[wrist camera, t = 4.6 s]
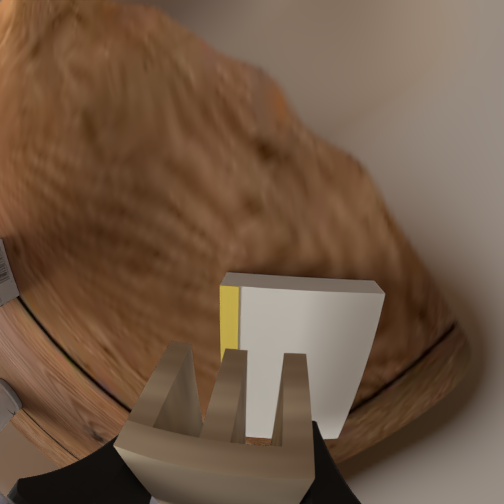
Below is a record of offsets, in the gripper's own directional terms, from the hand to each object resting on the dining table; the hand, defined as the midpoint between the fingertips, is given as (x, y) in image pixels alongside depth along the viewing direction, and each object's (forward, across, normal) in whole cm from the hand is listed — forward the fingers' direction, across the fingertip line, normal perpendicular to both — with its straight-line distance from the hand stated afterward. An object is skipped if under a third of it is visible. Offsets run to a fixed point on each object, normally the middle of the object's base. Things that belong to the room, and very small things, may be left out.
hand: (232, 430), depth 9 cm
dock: (+8, -3, +3) cm, 9 cm away
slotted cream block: (+2, 0, +3) cm, 3 cm away
